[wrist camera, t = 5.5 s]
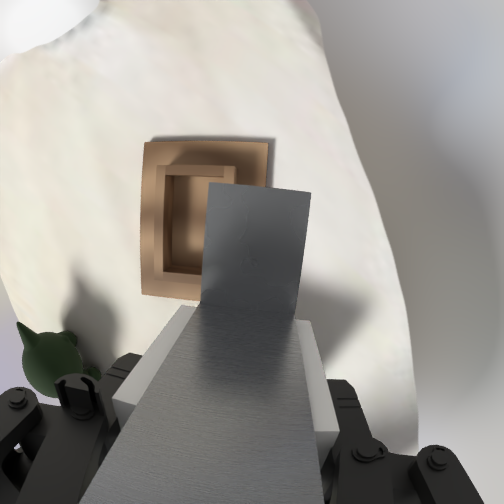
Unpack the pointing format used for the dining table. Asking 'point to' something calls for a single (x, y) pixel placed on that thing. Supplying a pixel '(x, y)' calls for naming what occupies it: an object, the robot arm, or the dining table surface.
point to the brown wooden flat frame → (186, 207)
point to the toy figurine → (50, 359)
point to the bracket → (228, 374)
